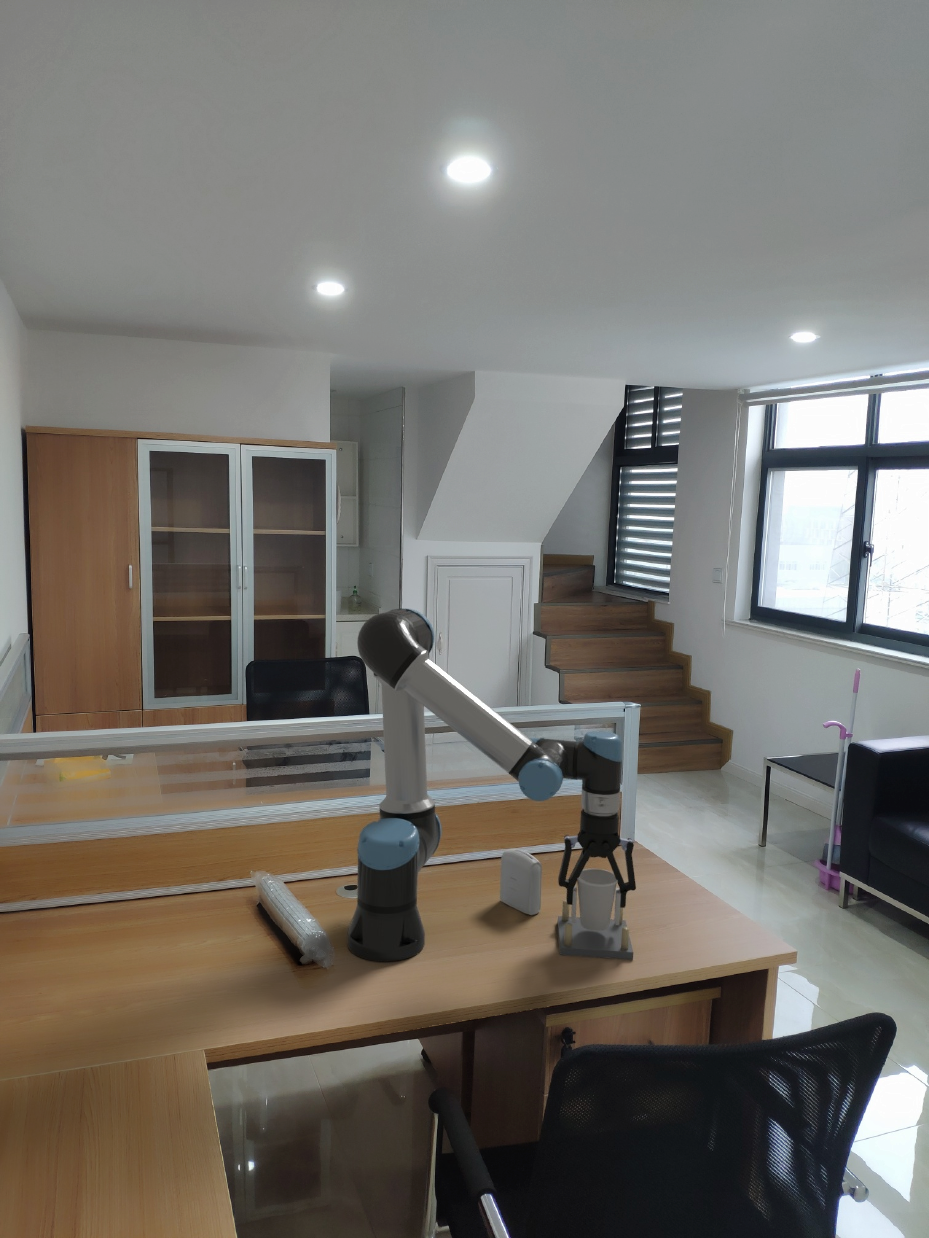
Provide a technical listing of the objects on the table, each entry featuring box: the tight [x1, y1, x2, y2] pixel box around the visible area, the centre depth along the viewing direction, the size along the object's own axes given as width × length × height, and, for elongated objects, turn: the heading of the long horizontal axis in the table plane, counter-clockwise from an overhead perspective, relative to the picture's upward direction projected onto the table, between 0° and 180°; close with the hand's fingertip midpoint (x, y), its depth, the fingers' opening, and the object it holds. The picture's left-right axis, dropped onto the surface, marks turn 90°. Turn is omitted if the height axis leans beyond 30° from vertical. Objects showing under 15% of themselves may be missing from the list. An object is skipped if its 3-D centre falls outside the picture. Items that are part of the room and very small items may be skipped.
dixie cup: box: [576, 868, 618, 931], centre depth 176 cm, size 8×8×10 cm
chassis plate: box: [557, 899, 634, 961], centre depth 177 cm, size 14×14×6 cm
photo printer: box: [499, 848, 543, 916], centre depth 191 cm, size 10×4×12 cm, turn 39°
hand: (595, 920), depth 176 cm, fingers closed on dixie cup, 8 cm apart
